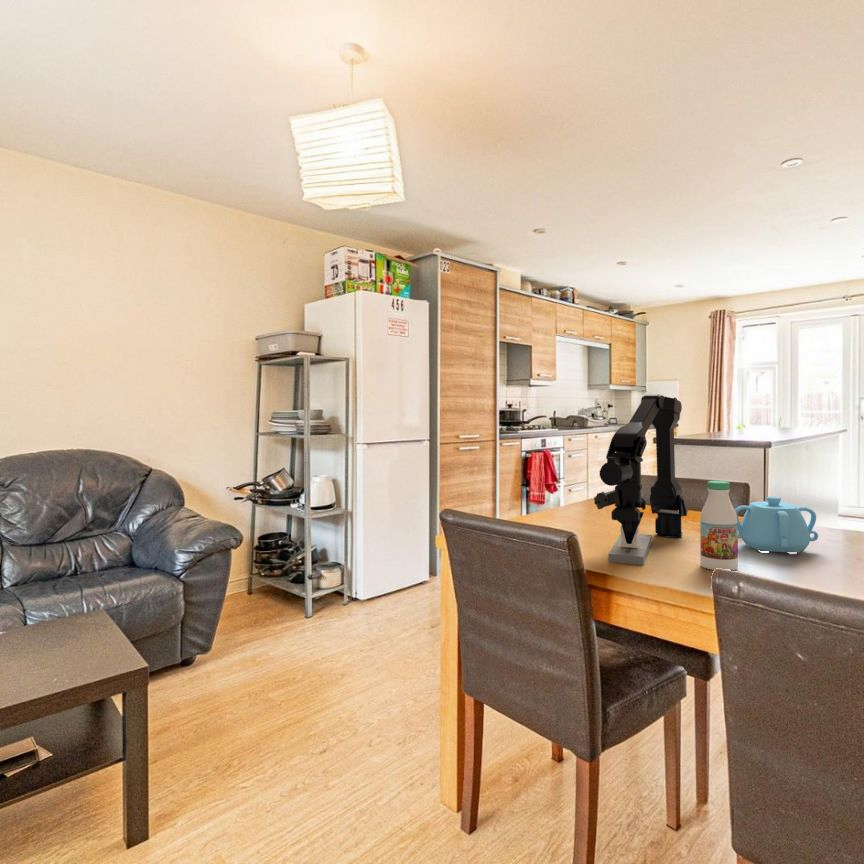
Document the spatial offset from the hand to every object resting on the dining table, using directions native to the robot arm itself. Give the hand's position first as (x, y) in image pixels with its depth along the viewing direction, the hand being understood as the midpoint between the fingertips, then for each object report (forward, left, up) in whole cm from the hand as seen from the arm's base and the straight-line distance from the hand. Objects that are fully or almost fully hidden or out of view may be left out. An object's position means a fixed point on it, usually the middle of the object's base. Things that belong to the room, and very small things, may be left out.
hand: (629, 542), depth 141 cm
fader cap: (0, 0, -1) cm, 1 cm away
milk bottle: (-20, +4, -4) cm, 21 cm away
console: (0, -4, -3) cm, 5 cm away
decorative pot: (-33, -18, -4) cm, 38 cm away
